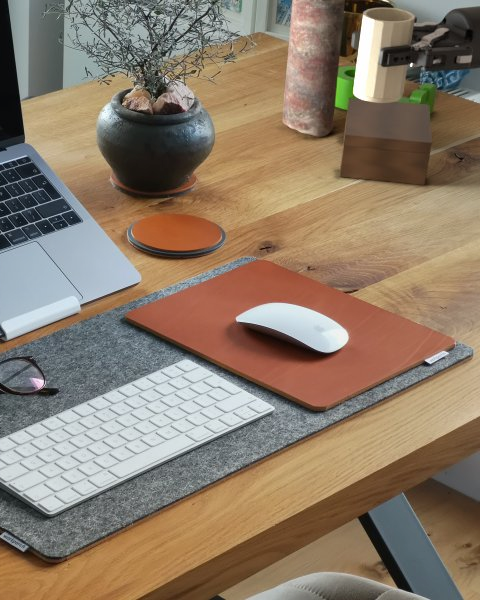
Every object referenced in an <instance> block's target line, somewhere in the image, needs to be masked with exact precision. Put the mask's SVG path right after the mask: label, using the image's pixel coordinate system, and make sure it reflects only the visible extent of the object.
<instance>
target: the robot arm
mask: <svg viewBox="0 0 480 600" xmlns="http://www.w3.org/2000/svg"><path fill="white" fill-rule="evenodd" d="M351 34H352V35H351V43H350V47H351V48H352V49H354V50H356V51H358V50H359V42H360V34H361V29H359V30H354V31H353V32H352V33H351ZM378 63H379V65H380V66H382V67H391V66H401V65H408V66H409V67H412V68H418V67H420V66H421V70H422V72H423V71H424V72H438V71H464V70H473V69H474V70H475V69H480V5H478V6H468V7H467V6H466V7H457V8H453V9H451V10H450V11H449V12H447V13H446V14H445V16H444V17H443V18H442V20H441V21H440V22H439V23H438V22H436V21H426V20H425V21H423V22H418V17H417V16H415V20H414V27H413V33H412V40H411V46H409V45H403V46H394V47H384V48H382V49H381V50H380V54H379V61H378Z"/></svg>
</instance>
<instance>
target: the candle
mask: <svg viewBox="0 0 480 600" xmlns="http://www.w3.org/2000/svg"><path fill="white" fill-rule="evenodd" d="M345 5H346V0H292V1H291V12H290V13H291V14H290V26H289V37H288V39H289V40H288V50H287V60H286V72H285V82H284V94H283V104H282V105H283V107H282V123H283V124H284V125H285V126H287V127H289V128H290V129H291V130H295V131H297V132H299V133H301V134H306V135H310V136H313V137H317V138H318V137H325V136H327V135H328V134H330V133H331V132H332V131H333V130H334V129H333V128H334V121H335V120H334V119H335V111H336V106H335V100H336V89H337V77H338V68H339V66H340V57H341V45H342V35H343V26H344V14H345Z"/></svg>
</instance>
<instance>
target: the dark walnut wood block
mask: <svg viewBox="0 0 480 600" xmlns="http://www.w3.org/2000/svg"><path fill="white" fill-rule="evenodd" d="M342 139H343V140H342V143H343V145H342V153H341V161H340V167H339V168H340V169H339V175H338V176H339V177H340V178H350V179H359V180H360V179H361V180H369V181H370V180H371V181H379V182H389V183H390V182H391V183H401V184H409V185H419V186H425V184H426V178H427V172H428V168H429V167H428V166H429V160H430V155H431V149H432V145H433V142H432V141H433V140H432V125H431V114H430V108H429V105H425V104H413V103H402V102H390V103H376V102H369V101H365V100H362V99H355V98H349V101H348V109H347V110H346V115H345V124H344V131H343V138H342Z"/></svg>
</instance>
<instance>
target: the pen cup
mask: <svg viewBox="0 0 480 600" xmlns="http://www.w3.org/2000/svg"><path fill="white" fill-rule="evenodd" d="M415 17H416V15H415V14H414V13H412V11H408V10H405V9H401V8H396V7H373V8H367V9H366V10H364V11H362V20H361V25H360V26H361V27H360V30H361V34H360V42H359V50H357V58H356V65H355V66H356V73H355V80H354V89H353V94H354V95H355V96H356V97H357V98H359V99H362V100H365V101H369V102H376V103H390V102H395V101H398V100H400V99H401V98H402V96H403V97H404V91H405V85H406V78H407V71H408V66H409V64H408V65H401V66H391V67H382V66H380V65H379V63H378V61H379V54H380V50H381V49H382V48H384V47H394V46H403V45H409V46H411V40H412V33H413V27H414V20H415Z"/></svg>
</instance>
